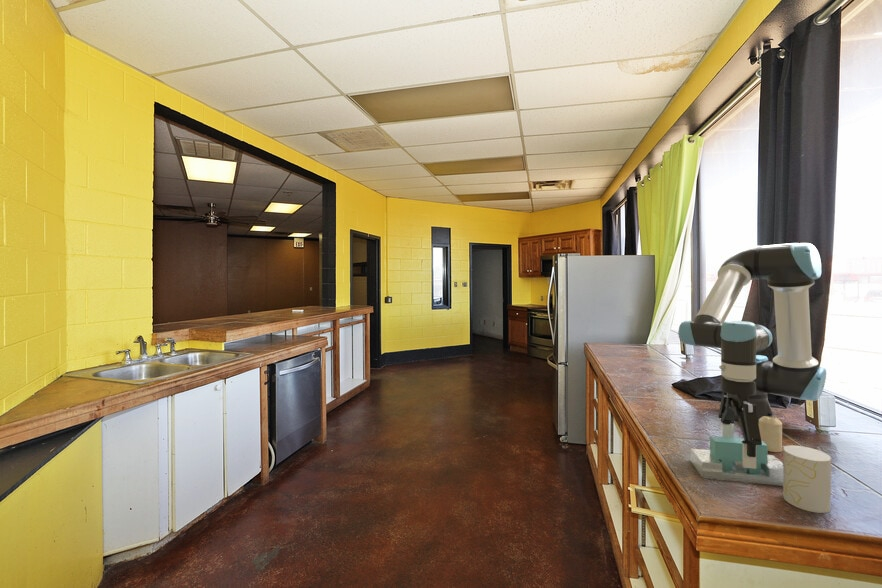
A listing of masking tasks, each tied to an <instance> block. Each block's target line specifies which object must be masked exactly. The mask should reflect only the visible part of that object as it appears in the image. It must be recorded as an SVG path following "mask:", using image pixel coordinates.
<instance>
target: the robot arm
mask: <svg viewBox="0 0 882 588" xmlns="http://www.w3.org/2000/svg"><path fill="white" fill-rule="evenodd" d="M821 261H822V260H821V256H820V253H819V250H818V249H817V248H816V246H815V245H813V244H812V243H809V242H800V243H799V242H791V243H779V244H769V245H768V244H767V245H766V244H765V245H755V246H749V247H746V248H744V249H742V250H740V251H737V252H735V253H734V254H733V255H731V256H730V257H729V258H728V259H726V260H725V261H724V262H723V263H722V265H721V266H720V267H719V269H718V271H717V279H716V281H715V282H714V284H713V287H712V288H711V290H710V291H709V293H708V295H707V296H706V298H705V300H704V302H703V304H702V305H701V307H700V309H699V310H698V312H697V314H696V316H695V317H694V319H693V320H692V321H691V320H684V321H683V322H680V324H679V327H678V334H677V335H678V338H679V340H680V342H681V344H683V345H690V346H694V347H704V348H715V349H720V360H721V361H720V362H721V364H720V365H719V369H720V370H721V371H720V375H721V376H722V377H721V378H720V389H721V392H722V393H721V394H722V395H721V401H720V405H719V408H718V409H719V410H718V414H717V417H718V419H720V423H721V437H727V438H735V424H736V422H735V421H738V423H739V426H740V429H741V433H742V436H743V439H744V440H743V441H741V442H742V443H743V467H744V468H754V469H756V445H762V441H761V435H760V430H759V419H760V418H762V417H763V416H768V417H775V416H774V412H773V409H772V407H771V405H770V402H769V400H768V394H770V395H775V396H780V397H781V396H782V397H787V398H791V399H797V400H804V401H812V402H815V401H818V400H819V399H820V398H821V396H822V394H823V391H824V388H825V383H826V379H827V369H826V368H824V367H822V366H820V367H819V364H820V363H819V360H817V359H816V358H815V357H813V356H812V352H813V350H812V335H811V334H812V332H811V316H810V314H811V313H810V296H809V295H810V294H809V293H810V292H809V291H810V290H809V289H810V288H811V287H812V286H814V285H815V280H818V279H819V278H821V275H822V272H823V270H822V262H821ZM753 280H766V281H767V286H768V288H771V289H772V290H773V297H774V298H773V299H774V316H775V329H776V342H777V343H776V346H777V354H776V355H775V356H774V357H773V358H772V361H770V360H769V358H768V357H767V356H766V355H761V354H757V353H758V352H762V351H764V350H766V349H767V348H768V347H770V346H771V344H772V342H773V335H772V332H771V330H770V329H768V328H767V327H766V326H765V325H761V324H758V323H757V324H755V323H754V322H752V321H745V320H743V321H742V320H726V319H727V318H728V315H729V313H730V312H731V310H732V308H733V306H734V304H735V302H736V300H737V299H738V297H739V295H740V293H741V292H742V289H743V287H745V286H747V285H748V284H749V283H750V282H751V281H753Z"/></svg>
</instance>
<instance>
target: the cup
mask: <svg viewBox="0 0 882 588" xmlns="http://www.w3.org/2000/svg"><path fill="white" fill-rule="evenodd" d="M782 451H783V452H782V453H783V454H782V455H783V462H782V463H783V486H782V487H783V488H782V491H783V492H782V497H783V499H784V500H785V501H786V502H787V503H789V504H790V505H792V506H794V507H796V508H798V509H800V510H804V511H807V512H812V513H818V514H827V513H830V511H831V510H832V509H831V503H832V501H831V499H832V497H831V496H832V493H831V491H832V457H831V456H830V455H829V454H828V453H826V452H824V451H821V450H819V449H816V448H813V447H807V446H803V445H785V446H783V448H782Z"/></svg>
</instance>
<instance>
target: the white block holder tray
mask: <svg viewBox="0 0 882 588" xmlns="http://www.w3.org/2000/svg"><path fill="white" fill-rule="evenodd" d="M689 460H690V463H691V464H692V465H693V466H694V468H695V470H697V472H698V473H699V475H700V476H701V477H702V478H703V479H711V480H719V481H720V480H721V481H728V482H729V481H730V482H739V483H750V484H760V485H769V486H778V487H779V486H780V487H783V462H782V461H781V460H780V459H779V458H778V457H776V456H775V455H772V454H768V464H762V463H761V474H751V473H749V472H748V471H747V470H746V468H744V467H743V462H740V461H732V472H731V471H722V463H721V462H720V461H719V460H717V459H714V457H713V456H712V455H711V454H710V449H701V448H700V449H698V448H690V454H689Z"/></svg>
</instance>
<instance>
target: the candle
mask: <svg viewBox="0 0 882 588" xmlns="http://www.w3.org/2000/svg"><path fill="white" fill-rule="evenodd" d="M758 425H759V430H760V435H761V441H763V442H764V443H765V444H766V445H768V452H772V453H782V451H783V422H781V420H780V419H779V418H778V417H776V416H774V417H768V416H763V417H762V418H760V419H759V424H758Z"/></svg>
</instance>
